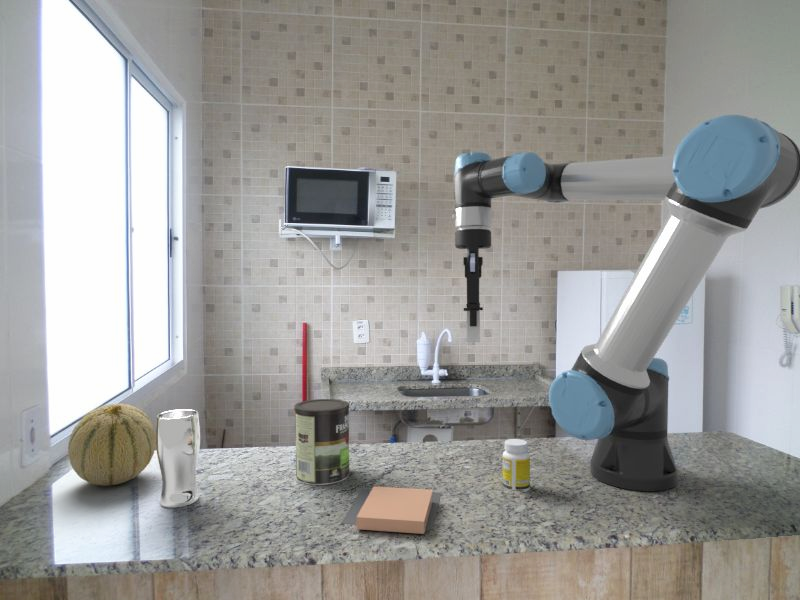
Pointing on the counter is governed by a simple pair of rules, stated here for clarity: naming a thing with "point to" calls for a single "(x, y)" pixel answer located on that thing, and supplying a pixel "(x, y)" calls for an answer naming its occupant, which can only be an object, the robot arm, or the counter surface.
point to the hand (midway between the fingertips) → (473, 341)
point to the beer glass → (178, 456)
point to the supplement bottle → (516, 465)
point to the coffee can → (322, 441)
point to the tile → (396, 510)
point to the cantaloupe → (112, 444)
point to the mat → (364, 493)
